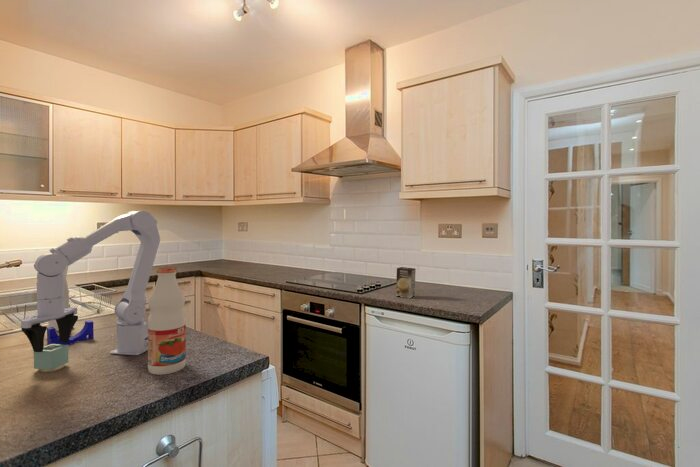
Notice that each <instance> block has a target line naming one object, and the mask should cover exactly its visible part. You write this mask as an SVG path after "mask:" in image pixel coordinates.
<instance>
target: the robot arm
mask: <svg viewBox="0 0 700 467" xmlns="http://www.w3.org/2000/svg"><path fill="white" fill-rule="evenodd" d="M157 224H158V221H157V219H156V218H155V217H154V215H153V214H152V213H150V212H149V211H148V210H137V211H136V210H130V211H127V212H126V213H125V214H121V215H118V216H117V217H115V218H113V219H111V220H110V221H109V222H107V223H105V224H104V225H102V226H101V227H99V228H98V229H96V230H94V231H92V232H91V233H89V234H88V235H86V236H85V237H84V236H78V235H77V236H75V237H72V236H70V237H69V238H67V239H66V242H64V243H63V244H61V245H58V246H57V247H56V248H54V247H53V248H50V249H49V250H48V251H49V252H50V253H44V254H41V255H39V256H38V257H37V258H36V260H35V261H34V264H33V268H34V269H35V271H37V274H36V280H37V281H36V310H37V311H36V312H37V313H35V315H32V316H30V317H28V318H24V319H22V320H20V328H21V329H20V330H21V331H22V332H23V333H24V335H25V336H26V338H27V339H28V341H29V343H30V345H31V347H32V351H33V353H34V352H42V351H43V348H44V346H45V344H44V342H45V335H46V333H47V328H48V326H46V325H45V326H43V325H42V324H45V323H48V321H52V320H56V322H57V325H58V329H59V332H58V335H59V339H60V342H66V343H67V342H69V338H70V337H71V334H72V331H73V330H74V329H73V327H75V324H76V323H77V321H78V320H79V315H78V307H76V306H75V307H74V306H70V308H65V309H64V281H63V271H64V270H65V268H66V266H67V265H68V267H70V266H71V265H73V264H75V263H76V262H78V261H79V260H81V259H83V258H84V257H86V256H88V255H89V254H91V252H92V250H93V248H94V247H93V246H95V245H98V244H99V243H101V242H102V241H104V240H106V239H108V238H110V237H112V236H113V235H115V234H117V233H119V232H126V231H127V232H128V231H131V232H132V233H133V234H134V235H135V236H136V237H137V239H138V240H139V241H140V244H139V247H138V251H137V255H136V257H135V259H134V260H135V261H134V264H133V268H132V271H131V275H130V278H129V281H128V284H127V288H126V290H125V291H124V292H123V293H122V295H121V298H120V299H119V301H118V302H117V303H116V304H115V306H114V310H113V311H114V315H115V316H116V317H117V321H116V349H113V350H111V351H110V352H109V354H112V355H128V356H139V355H141V354H143V353H144V352H148V322H145V321H144V318H145V317H146V315H147V308H146V303H147V299H146V290H147V287H148V284H149V280H150V276H151V274H152V270H153V266H154V263H155V259H156V255H157V253H158V249H159V246H160V243H161V236H160V234H159V229H158V225H157Z"/></svg>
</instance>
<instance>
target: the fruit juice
mask: <svg viewBox="0 0 700 467" xmlns="http://www.w3.org/2000/svg"><path fill="white" fill-rule="evenodd" d="M177 272H178V270H177V268H176V267H171V266H169V267H168V266H166V267H158V268H156V275H157V279H156V282H155V286H154V289H153V291H152V292H151V293H150V294H149V296H148V299H147V300H148V301H147V306H148V308H149V315H148V318H147V323H148V350H147V370H148V372H149V373H150V374H152V375H157V376H158V375H159V376H161V375H162V376H163V375H170V374H173V373H177V372H179V371H182V369H184V368H185V367H186V362H187V361H186V358H187V357H186V355H187V353H186V352H187V351H186V350H187V349H186V348H187V347H186V346H187V344H186V339H187V338H186V335H187V334H186V333H187V332H186V328H187V325H186V313H185V311H184V306H185V302H186V296H185V293H184V292H183V290H181V288H180V286H179V284H178V283H179V282H178V280H177V276H176V274H177Z"/></svg>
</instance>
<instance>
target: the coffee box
mask: <svg viewBox="0 0 700 467" xmlns="http://www.w3.org/2000/svg"><path fill="white" fill-rule="evenodd" d="M416 270H417V269H416V268H415V267H413V268H412V267H406V266H405V267H404V266H401V267H396V287H395V289H396V290H395V291H396V292H395V297H396V296H403V297H410V298H411V297H413V296H416V273H417V272H416ZM413 298H414V297H413ZM411 299H412V298H411Z"/></svg>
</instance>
